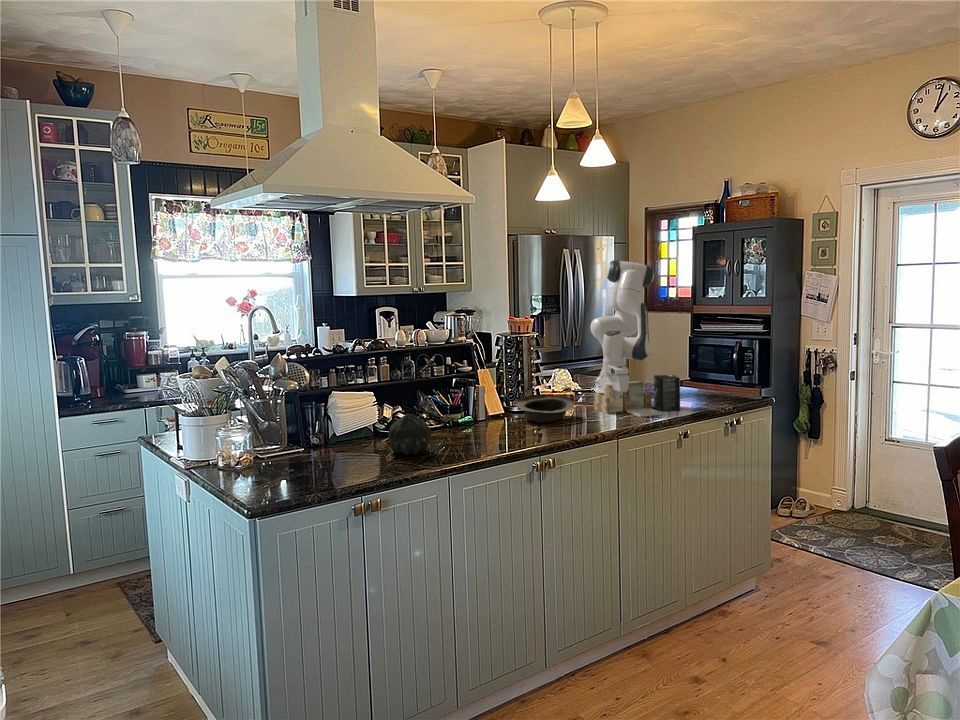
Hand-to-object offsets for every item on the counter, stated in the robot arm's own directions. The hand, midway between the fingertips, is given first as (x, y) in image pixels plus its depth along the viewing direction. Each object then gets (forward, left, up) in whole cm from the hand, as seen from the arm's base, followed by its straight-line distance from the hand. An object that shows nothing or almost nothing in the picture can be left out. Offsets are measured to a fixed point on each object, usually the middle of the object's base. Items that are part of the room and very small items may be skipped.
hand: (613, 399), depth 318 cm
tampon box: (+6, +23, -5) cm, 24 cm away
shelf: (-2, +5, -5) cm, 7 cm away
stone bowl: (+4, -34, -6) cm, 35 cm away
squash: (+37, -99, -5) cm, 106 cm away
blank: (0, 0, -5) cm, 5 cm away
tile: (+11, +9, -5) cm, 15 cm away
